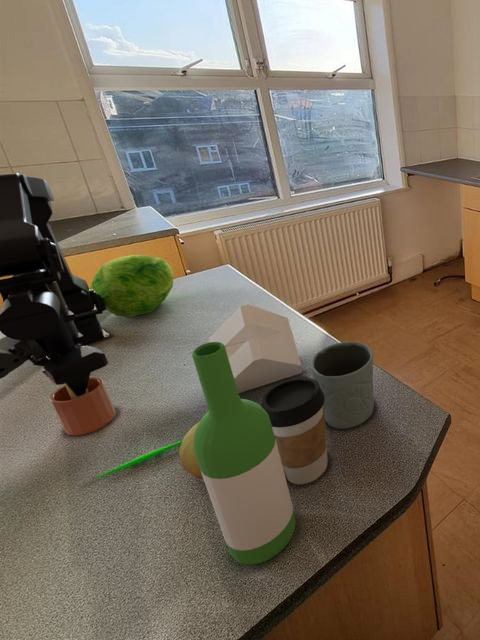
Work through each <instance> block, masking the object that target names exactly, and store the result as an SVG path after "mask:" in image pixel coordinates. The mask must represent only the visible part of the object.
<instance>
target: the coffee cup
mask: <svg viewBox="0 0 480 640" xmlns="http://www.w3.org/2000/svg"><path fill="white" fill-rule="evenodd" d="M324 401H325V397H324V393H323V391H322V390H321V388H320V385H319V383H318V382H317V381H316V380H314V378H310V377H294V378H289V379H285V380H282V381H279V382H278V383H275V384H274V385H273V386H271V387H269V388H268V389H267V390H266V391H265V392H264V393H263V395H262V396H261V399H260V406H261V407H262V408H263V409H264V410H265V411H266V412H267V414H268V416H269V418H270V421H271V425H272V428H273V432H274V436H275V439H276V443H277V447H278V451H279V455H280V459H281V462H282V466H283V470H284V474H285V478H286V480H287V481H288V482H290V483H291V484H294V485H306V484H309V483H312V482H314V481H315V480H317V479H318V478H320V477H321V476H322V475H323V474H324V473H325V471H326V469H327V468H328V464H329V463H328V461H329V460H328V451H327V432H326V431H327V430H326V429H327V428H326V420H325V411H324V407H323V404H324Z"/></svg>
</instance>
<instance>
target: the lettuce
mask: <svg viewBox="0 0 480 640" xmlns="http://www.w3.org/2000/svg"><path fill="white" fill-rule="evenodd" d="M172 269H173V268H172V267H171V265H170V264H169V263H168V262H167V261H166V260H165V259H164V258H163V257H157V256H152V255H140V254H132V255H125V256H120V257H117V258H115V259H112V260H109V261H107V262H104V263H102V264H101V265H100V267H99V268H98V269H97V271H96V272H95V273H94V275H93V279H92V282H91V284H90V286H89V289H90V290H91V289H94V291H96V293H98V294H100V296H101V298H102V300H103V302H104V304H105V307H106V310H105V311H107V312H109V313H111V314H113V315H115V316H117V317H123V318H124V317H125V318H132V317H136V316H139V315H145V314H150V313H152V312H153V311H154V310H155V309H156V308H157V307H158V306H159V305H160V304H161V303H163V302H164V301H165V300H166V299H167V298H168V296H169V294H170V293H171V290H172V289H173V287H174V277H175V275H174V273H173V270H172Z"/></svg>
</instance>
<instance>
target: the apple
mask: <svg viewBox="0 0 480 640" xmlns="http://www.w3.org/2000/svg"><path fill="white" fill-rule="evenodd" d="M199 422H200V421H198V422H197V423H195V424H194V425H193V426H192V427H191V428H189V430H188V431H187V432H186V434H185V435H184V436H183V439H182V440H183V441H182V440H181V441H182V443H181V444H180V447H179V449H178V454H179V459H180V463H181V467H183V469H184V471H185V472H187V473H188V474H190V475H191V476H193V477H195V478H197V479H203V476H202V473H201V470H200V467H199V464H198V461H197V458H196V455H195V452H194V445H193V438H194V434H195V431H196V428H197V425H198V423H199Z"/></svg>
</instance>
